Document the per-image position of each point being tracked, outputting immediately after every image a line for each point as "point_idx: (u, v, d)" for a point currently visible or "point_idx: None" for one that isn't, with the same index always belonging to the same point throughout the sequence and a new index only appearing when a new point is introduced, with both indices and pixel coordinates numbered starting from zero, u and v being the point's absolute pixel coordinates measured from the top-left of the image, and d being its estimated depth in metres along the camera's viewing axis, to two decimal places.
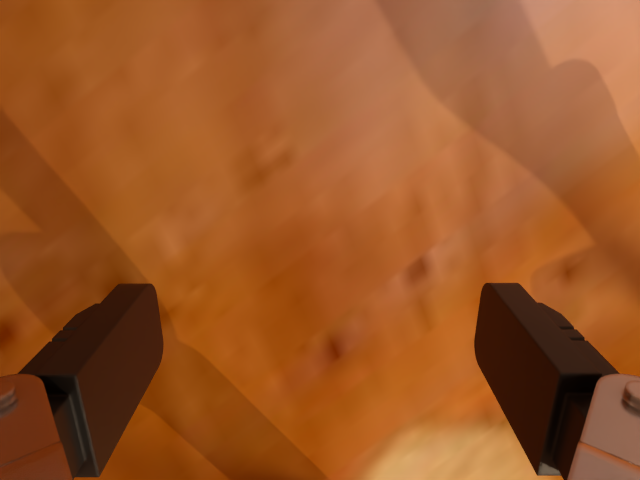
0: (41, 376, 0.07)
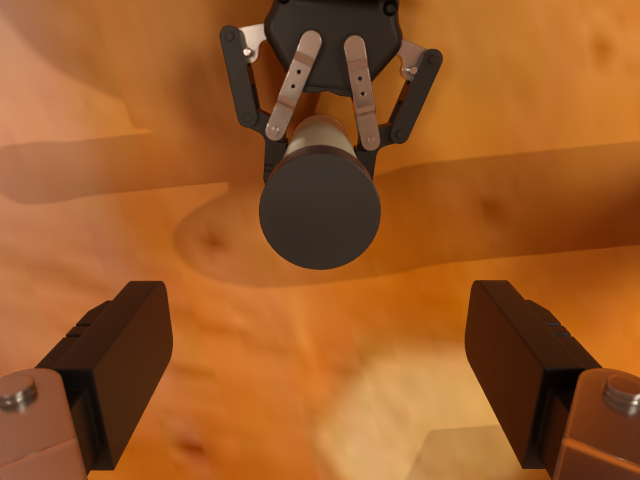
0: (58, 370, 0.07)
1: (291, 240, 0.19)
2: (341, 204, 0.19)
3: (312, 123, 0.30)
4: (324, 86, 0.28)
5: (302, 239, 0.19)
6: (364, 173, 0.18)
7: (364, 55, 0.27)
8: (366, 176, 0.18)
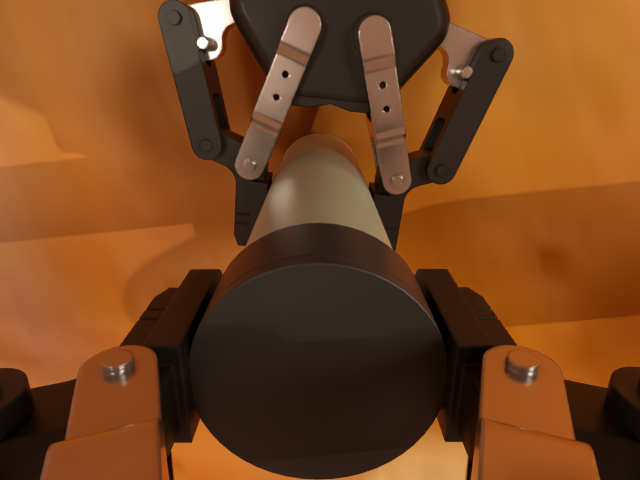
0: (148, 347, 0.08)
1: (258, 429, 0.09)
2: (364, 363, 0.09)
3: (307, 151, 0.20)
4: (325, 97, 0.18)
5: (281, 427, 0.09)
6: (417, 302, 0.08)
7: (390, 48, 0.16)
8: (421, 309, 0.08)
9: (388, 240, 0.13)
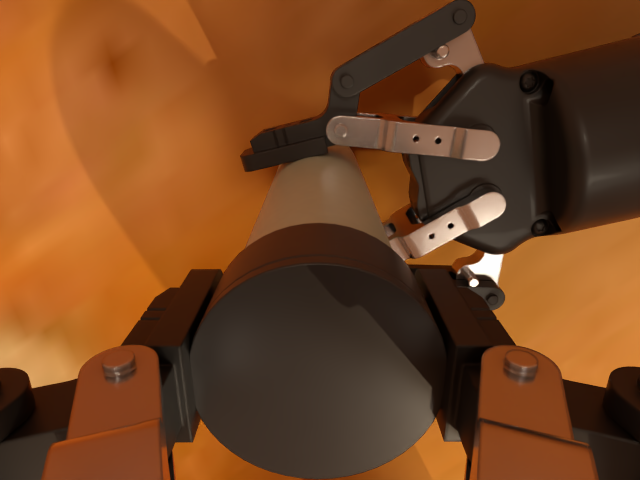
0: (149, 347, 0.08)
1: (258, 429, 0.09)
2: (364, 363, 0.09)
3: (361, 172, 0.21)
4: (423, 179, 0.19)
5: (281, 427, 0.09)
6: (416, 302, 0.08)
7: (483, 222, 0.19)
8: (421, 309, 0.08)
9: None
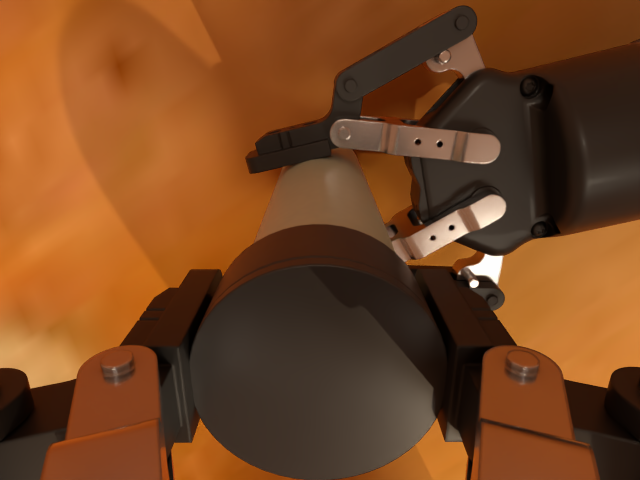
0: (148, 347, 0.08)
1: (352, 444, 0.09)
2: (311, 340, 0.09)
3: (363, 175, 0.21)
4: (425, 182, 0.20)
5: (358, 426, 0.09)
6: (259, 277, 0.08)
7: (483, 224, 0.19)
8: (266, 276, 0.08)
9: None
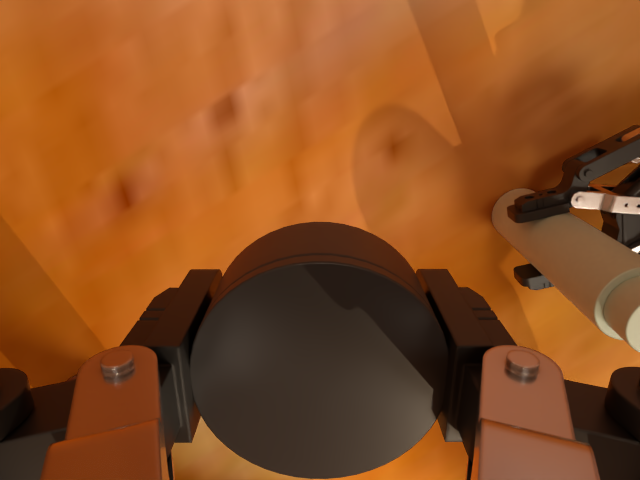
0: (148, 347, 0.08)
1: (353, 442, 0.09)
2: (313, 338, 0.08)
3: None
4: (623, 226, 0.33)
5: (359, 425, 0.09)
6: (261, 274, 0.08)
7: None
8: (267, 274, 0.08)
9: None
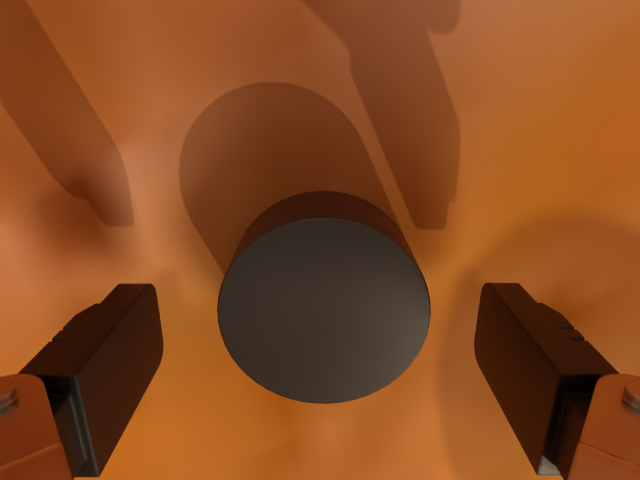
0: (41, 376, 0.07)
1: (351, 371, 0.11)
2: (318, 281, 0.10)
3: None
4: None
5: (356, 356, 0.11)
6: (276, 228, 0.10)
7: None
8: (282, 227, 0.10)
9: None
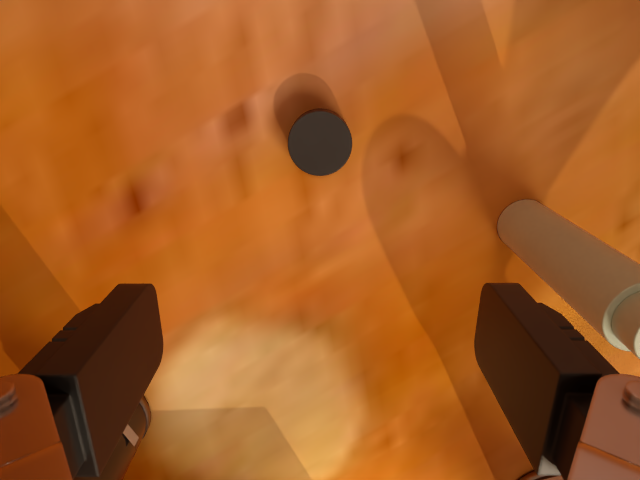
0: (41, 376, 0.07)
1: (328, 163, 0.37)
2: (318, 131, 0.36)
3: None
4: None
5: (330, 157, 0.36)
6: (306, 114, 0.35)
7: None
8: (308, 114, 0.35)
9: None
